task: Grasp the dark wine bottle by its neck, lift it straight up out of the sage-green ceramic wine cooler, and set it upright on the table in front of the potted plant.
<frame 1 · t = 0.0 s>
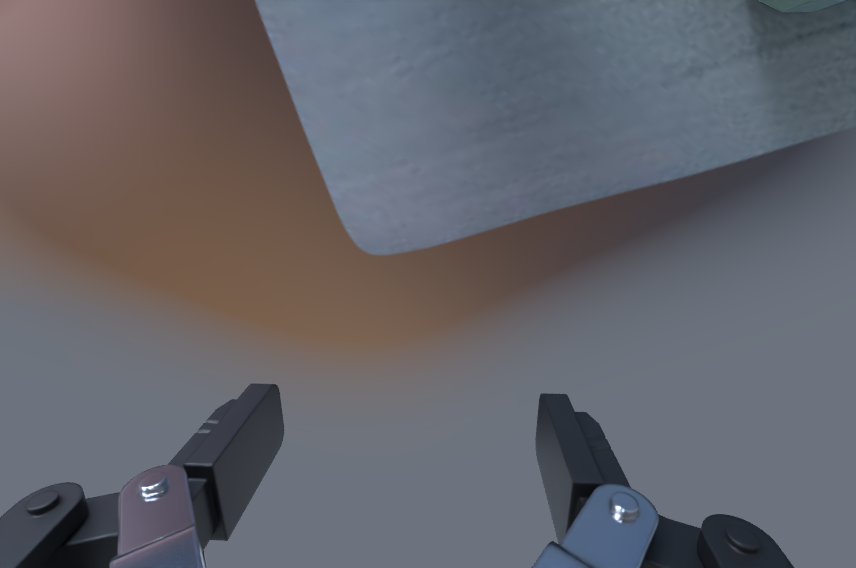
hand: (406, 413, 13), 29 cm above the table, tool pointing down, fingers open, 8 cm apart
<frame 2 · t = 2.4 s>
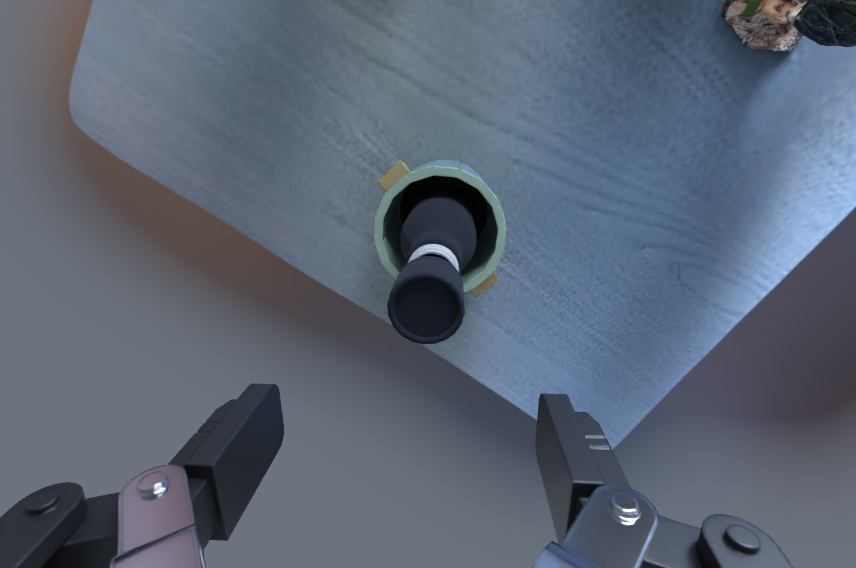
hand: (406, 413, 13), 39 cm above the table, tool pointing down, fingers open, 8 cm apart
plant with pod: (777, 15, 42), on the table
wine cooler: (443, 212, 50), on the table
wine bottle: (443, 211, 50), resting in wine cooler
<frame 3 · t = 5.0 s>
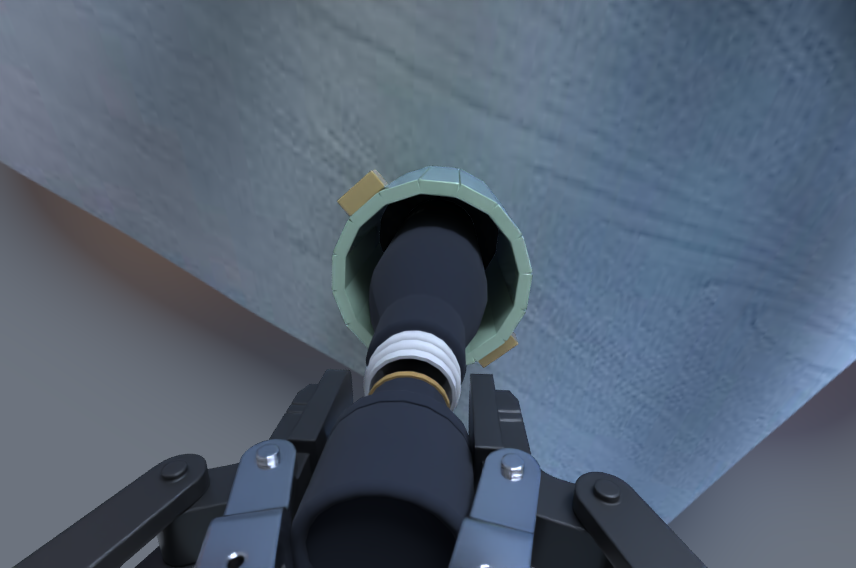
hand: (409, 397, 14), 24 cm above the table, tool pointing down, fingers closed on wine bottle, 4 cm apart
wine cooler: (438, 236, 37), on the table
wine bottle: (438, 235, 37), resting in wine cooler, touching gripper
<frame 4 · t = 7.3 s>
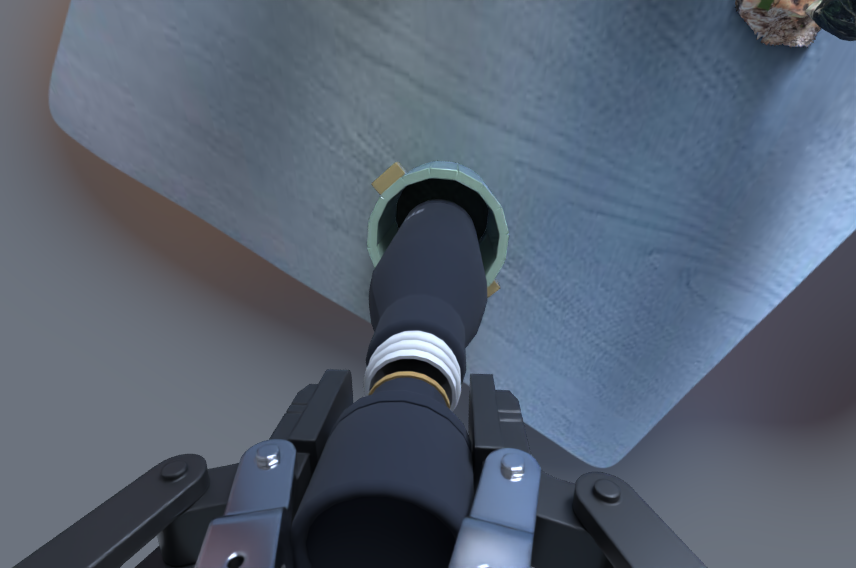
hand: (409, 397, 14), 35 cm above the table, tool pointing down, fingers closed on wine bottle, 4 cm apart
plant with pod: (793, 9, 40), on the table
wine cooler: (441, 215, 47), on the table
wine bottle: (438, 236, 37), point 11 cm above the table, touching gripper
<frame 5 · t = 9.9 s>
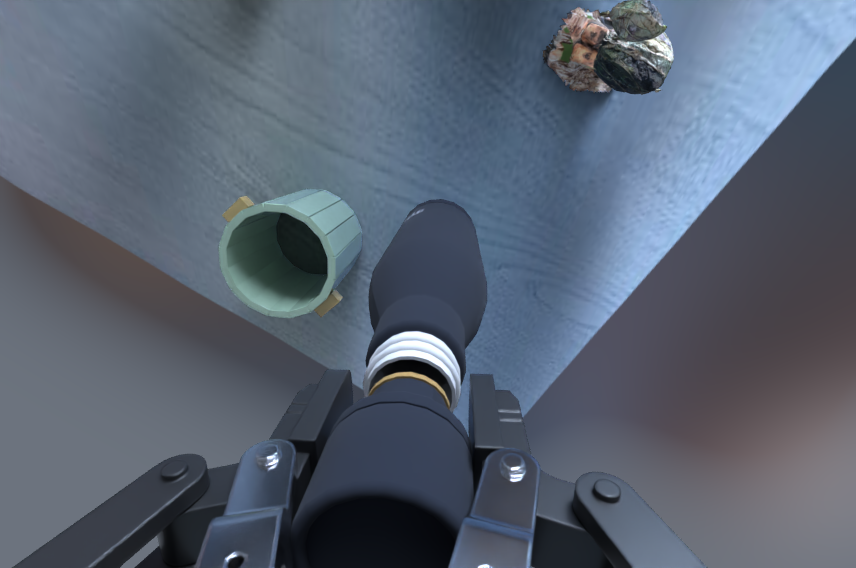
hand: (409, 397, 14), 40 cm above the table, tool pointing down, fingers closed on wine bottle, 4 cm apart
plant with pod: (595, 60, 46), on the table
wine cooler: (316, 236, 54), on the table
wine bottle: (438, 236, 37), point 16 cm above the table, touching gripper
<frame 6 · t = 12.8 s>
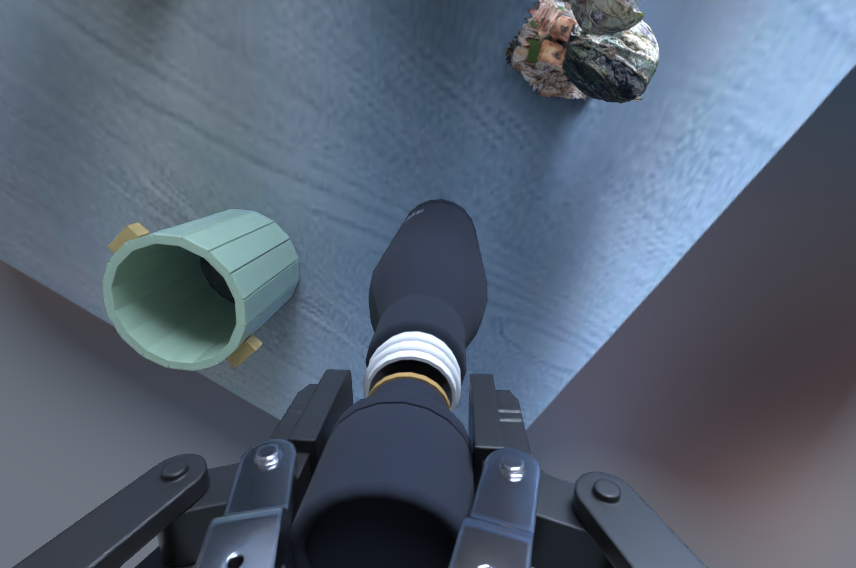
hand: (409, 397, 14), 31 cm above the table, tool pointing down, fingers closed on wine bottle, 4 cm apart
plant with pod: (569, 60, 38), on the table
wine cooler: (246, 263, 46), on the table
wine bottle: (438, 236, 37), point 7 cm above the table, touching gripper
when the fingers open (24 cm above the table, at t = 15.1 s): wine bottle stays where it is, on the table.
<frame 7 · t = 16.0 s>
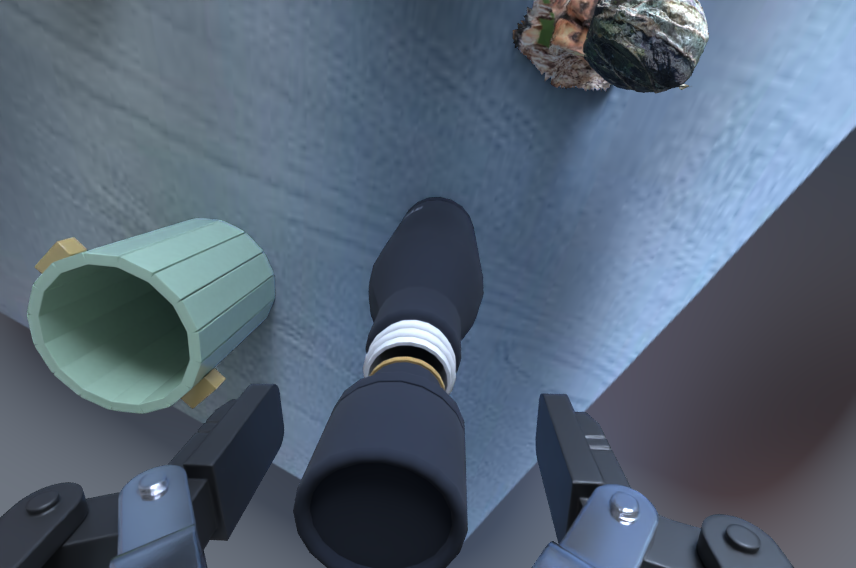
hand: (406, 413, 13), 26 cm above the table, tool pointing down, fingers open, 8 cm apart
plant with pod: (588, 44, 33), on the table
wine cooler: (214, 280, 40), on the table
wine bottle: (437, 233, 38), on the table
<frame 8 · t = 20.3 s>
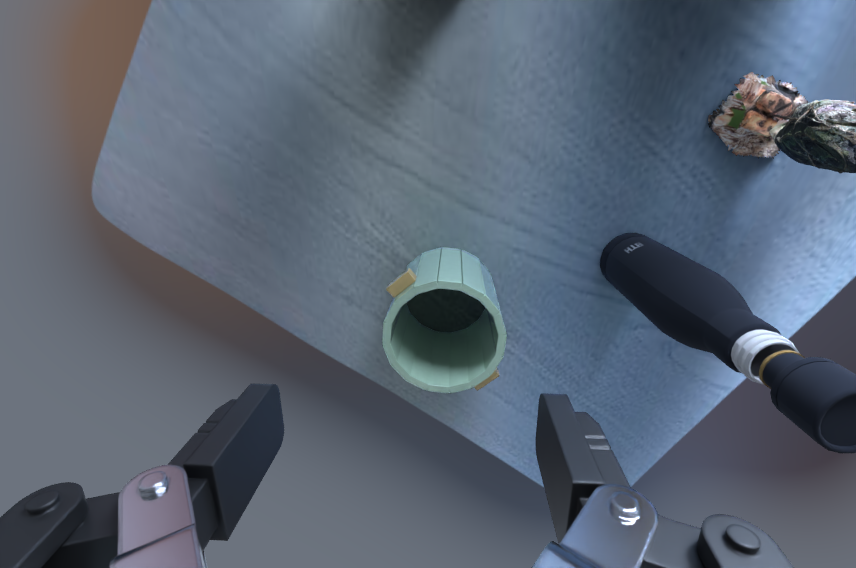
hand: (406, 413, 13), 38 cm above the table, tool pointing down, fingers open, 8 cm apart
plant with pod: (760, 124, 45), on the table
wine cooler: (446, 294, 52), on the table
wine bottle: (627, 259, 50), on the table
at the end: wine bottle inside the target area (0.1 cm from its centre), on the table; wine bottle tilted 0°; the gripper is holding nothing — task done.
